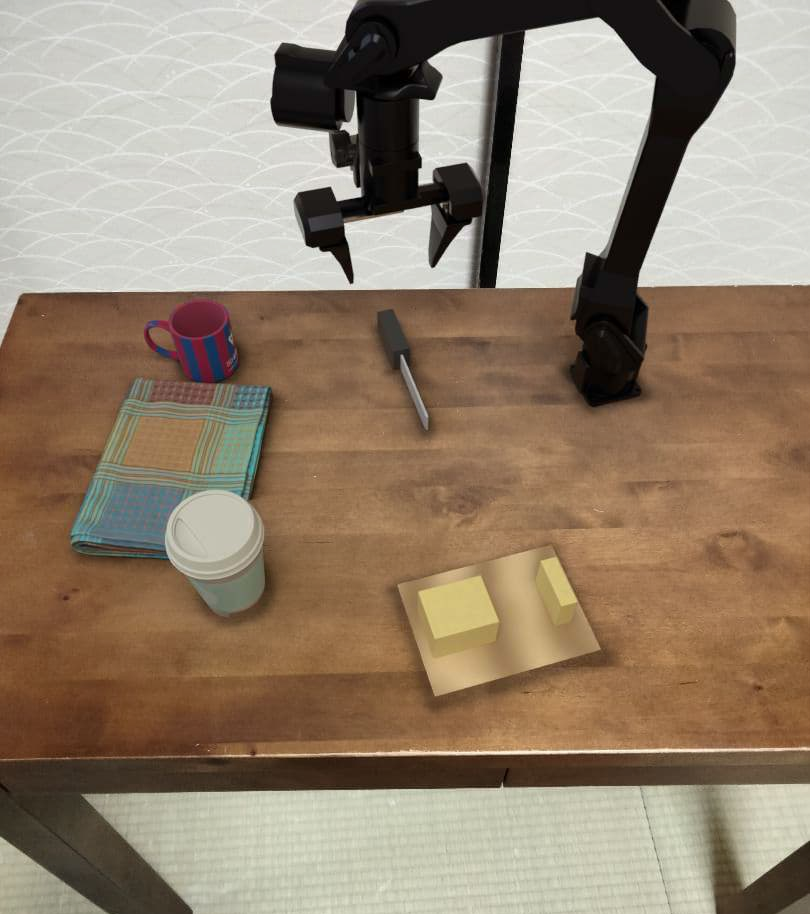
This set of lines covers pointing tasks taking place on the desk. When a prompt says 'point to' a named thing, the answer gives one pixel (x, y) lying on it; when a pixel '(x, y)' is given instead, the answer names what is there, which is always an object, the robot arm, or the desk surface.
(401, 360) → the knife
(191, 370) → the cup
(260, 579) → the coffee cup
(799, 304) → the desk surface
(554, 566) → the butter slice
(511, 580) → the board
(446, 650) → the butter block
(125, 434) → the dish towel
